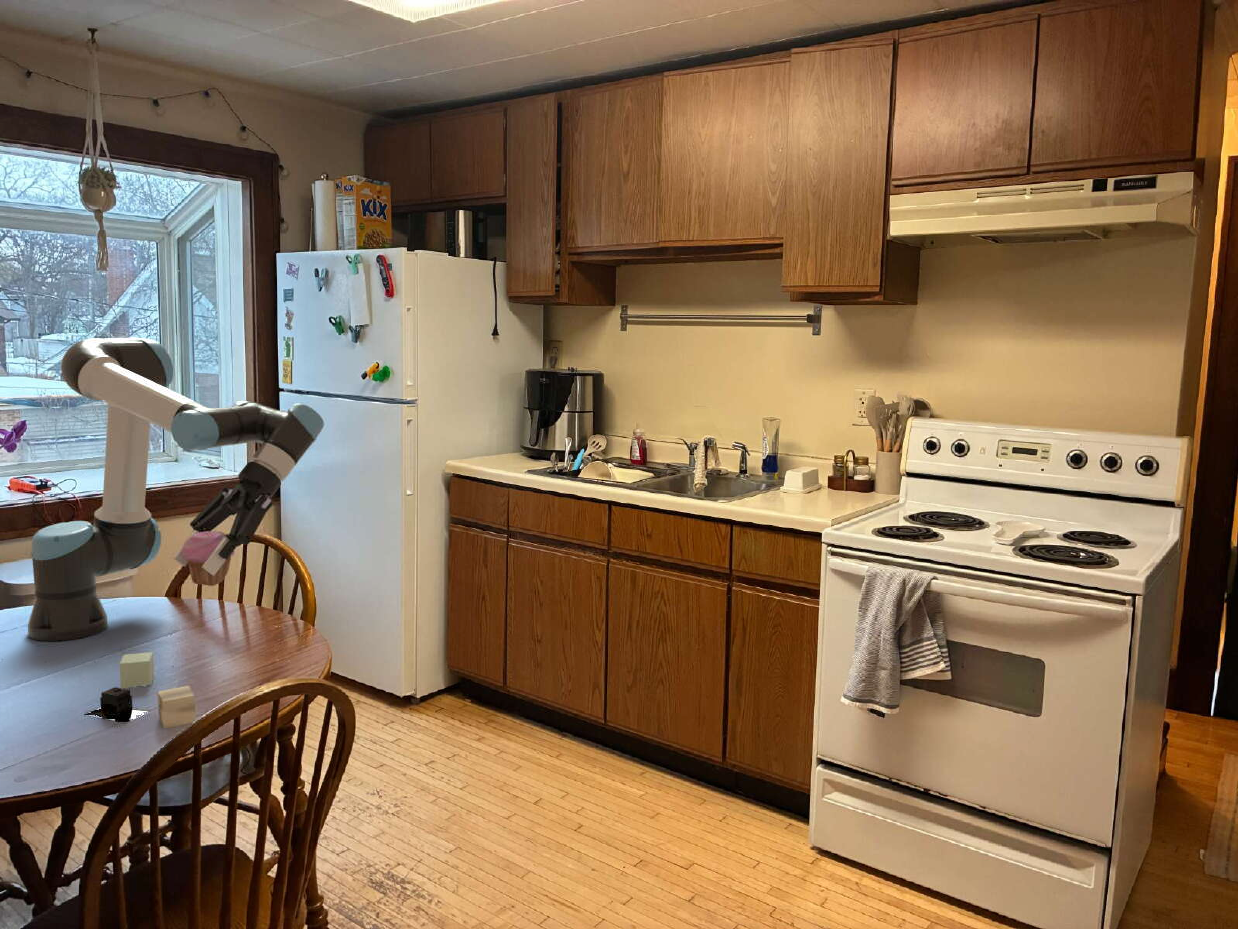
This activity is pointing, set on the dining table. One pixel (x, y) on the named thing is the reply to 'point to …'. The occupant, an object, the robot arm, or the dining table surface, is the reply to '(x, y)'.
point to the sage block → (136, 669)
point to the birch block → (176, 706)
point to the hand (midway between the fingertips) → (193, 566)
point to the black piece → (116, 706)
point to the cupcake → (204, 557)
